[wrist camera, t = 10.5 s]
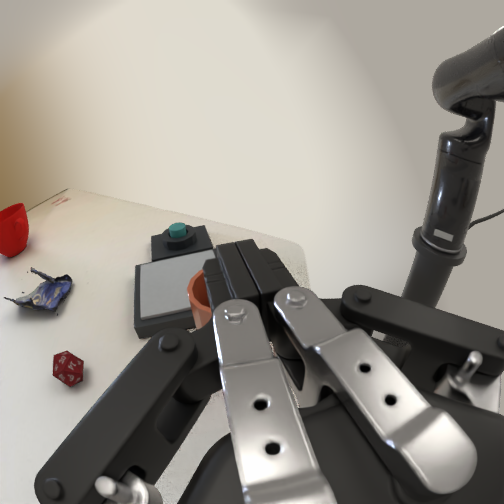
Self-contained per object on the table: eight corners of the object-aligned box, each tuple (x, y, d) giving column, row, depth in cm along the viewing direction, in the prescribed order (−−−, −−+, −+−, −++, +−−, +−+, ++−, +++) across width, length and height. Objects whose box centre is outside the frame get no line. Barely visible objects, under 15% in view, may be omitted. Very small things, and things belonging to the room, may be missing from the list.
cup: (255, 327, 31) (252, 255, 26) (276, 370, 26) (279, 300, 20) (200, 341, 30) (182, 270, 24) (213, 388, 24) (194, 322, 19)
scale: (219, 258, 43) (217, 244, 42) (243, 315, 33) (242, 300, 31) (138, 275, 40) (134, 262, 39) (139, 339, 30) (132, 325, 28)
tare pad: (205, 231, 51) (203, 217, 49) (214, 254, 44) (211, 238, 43) (152, 242, 48) (149, 228, 46) (153, 267, 42) (149, 251, 40)
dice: (84, 396, 22) (65, 376, 20) (57, 385, 23) (39, 364, 20) (96, 370, 25) (81, 349, 23) (70, 361, 26) (54, 340, 23)
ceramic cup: (17, 270, 42) (0, 229, 36) (-8, 262, 45) (-23, 228, 39) (52, 238, 52) (39, 200, 47) (22, 235, 56) (10, 203, 50)
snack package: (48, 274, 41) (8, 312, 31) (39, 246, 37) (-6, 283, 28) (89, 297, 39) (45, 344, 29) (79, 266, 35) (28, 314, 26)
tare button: (185, 229, 46) (184, 221, 45) (187, 236, 44) (186, 228, 43) (169, 232, 45) (168, 224, 45) (170, 240, 43) (169, 232, 42)
